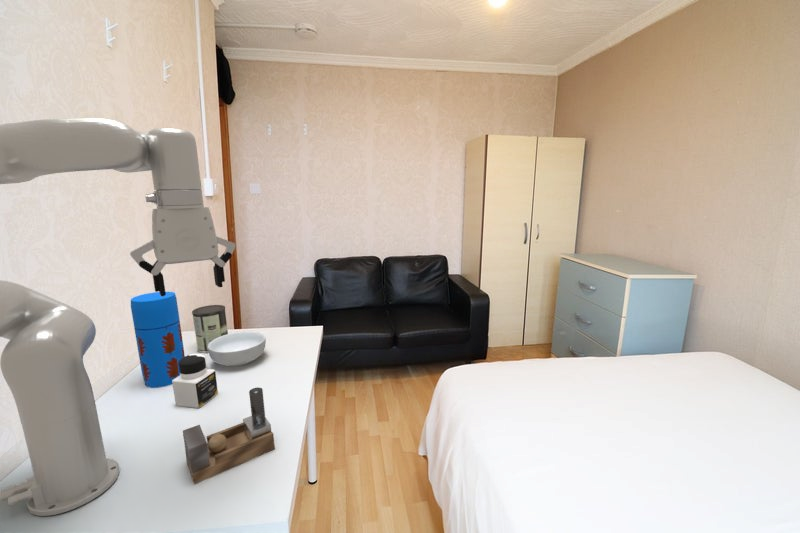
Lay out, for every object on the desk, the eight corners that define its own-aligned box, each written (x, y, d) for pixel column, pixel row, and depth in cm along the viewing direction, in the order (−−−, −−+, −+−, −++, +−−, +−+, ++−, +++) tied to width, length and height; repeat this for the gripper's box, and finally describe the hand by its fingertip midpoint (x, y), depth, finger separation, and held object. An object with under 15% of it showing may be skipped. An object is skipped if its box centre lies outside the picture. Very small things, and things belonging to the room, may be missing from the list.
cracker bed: (194, 484, 67) (189, 450, 66) (186, 460, 73) (182, 429, 72) (274, 448, 76) (271, 418, 75) (262, 430, 82) (259, 402, 81)
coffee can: (218, 339, 136) (214, 303, 134) (235, 344, 131) (231, 307, 128) (190, 349, 128) (185, 310, 125) (207, 355, 122) (202, 315, 120)
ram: (252, 444, 74) (247, 400, 72) (244, 430, 79) (239, 389, 77) (271, 436, 77) (267, 393, 75) (262, 423, 81) (258, 382, 79)
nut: (210, 459, 71) (208, 443, 70) (207, 450, 73) (205, 435, 73) (229, 451, 73) (227, 436, 72) (225, 442, 75) (223, 428, 75)
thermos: (190, 367, 114) (179, 289, 109) (183, 383, 104) (171, 298, 99) (149, 373, 110) (136, 293, 105) (138, 391, 100) (123, 303, 96)
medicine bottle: (199, 408, 91) (193, 364, 89) (175, 406, 93) (168, 362, 91) (218, 393, 98) (213, 352, 96) (195, 391, 100) (190, 350, 97)
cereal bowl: (231, 378, 106) (228, 356, 105) (199, 365, 115) (196, 344, 114) (278, 356, 121) (276, 336, 119) (246, 346, 129) (244, 327, 128)
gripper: (122, 201, 59) (138, 303, 62) (235, 199, 70) (244, 286, 73) (121, 201, 65) (136, 294, 68) (225, 199, 75) (234, 280, 79)
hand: (192, 290), depth 71 cm, fingers open, 9 cm apart
